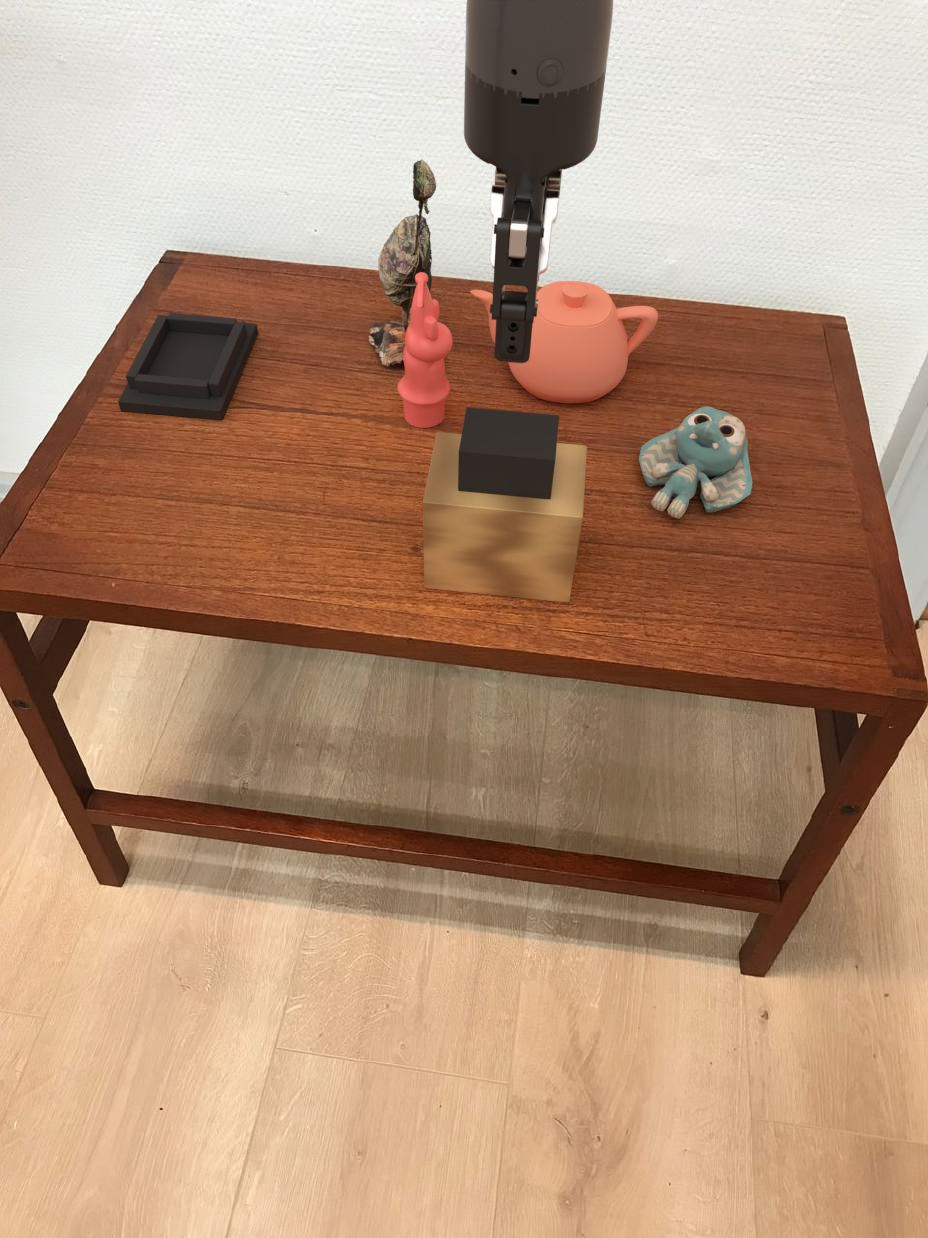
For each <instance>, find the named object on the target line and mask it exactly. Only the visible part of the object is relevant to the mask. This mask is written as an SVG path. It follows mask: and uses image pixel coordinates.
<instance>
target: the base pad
mask: <svg viewBox="0 0 928 1238" xmlns="http://www.w3.org/2000/svg"><path fill="white" fill-rule="evenodd" d="M258 335H259V329H258V324H257V323H253V322H252V323H251V322H245V321H237V318H233V317H221V316H209V315H197V314H186V313H175V312H169V313H168V314H167V315H165V314H158V315H157V316H156V318H155V320H154V322H153V323H152V325H151V327H150V329H149V331H148V333H147V335H146V337H145V339H144V340H143V343H142V345H141V346H140V348H139V349H138V352H137V354H136V356H135V358H134V360H133V361H132V363H131V365H130V367H129V369H128V371H127V373H126V375H125V379H126V381H127V383H126V385H125V387H124V389H123V391H122V393H121V395H120V397H119V399H118V401H117V403H118V406H119V409H120V411H121V412H125V413H126V412H128V413H136V414H137V413H138V414H147V415H148V414H149V415H160V416H171V417H181V418H191V419H192V418H193V419H203V420H204V419H205V420H215V421H223V420H224V418H225V416H226V413H227V410H228V407H229V405H230V402H231V401H232V398H233V395H234V393H235V390H236V389H237V386H238V383H239V381H240V378H241V376H242V374H243V371H244V369H245V366H246V364H247V361H248V360H249V357H250V354H251V352H252V350H253V348H254V345H255V343H256V339H257V337H258Z"/></svg>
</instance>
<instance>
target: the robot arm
mask: <svg viewBox="0 0 928 1238" xmlns="http://www.w3.org/2000/svg"><path fill="white" fill-rule="evenodd" d="M613 15H614V0H466V8H465V47H464V48H465V49H464V50H465V52H464V96H463V97H464V98H463V99H464V101H463V138H464V141H465V144H466V146H467V148H468V149H469V151H470V152H471V153H472V154H473V155H474V156H475V157H476V158H478V159H479V160H480V161H482V162H484V163H486V164H487V165H492V166H494V167H495V171H494V184H492V185H491V190H490V202H489V211H490V215H491V217H492V230H491V241H490V250H489V251H490V253H489V262H490V265H491V267H492V268H493V281H492V282H493V284H492V285H493V286H492V294H493V301H492V304H490V313H492V320H496V334H495V344H494V358H495V359H496V360H497V361H499V362H503V363H504V362H505V363H508V362H514V363H525V362H527V361H528V360H529V357H530V348H531V336H532V325H533V321H534V317H537V308H538V301H539V299H536V297H537V292H538V285H539V281H540V276H541V275H542V274H544V273H545V272H546V271H547V270H548V267H549V262H550V261H549V259H550V251H551V241H552V231H553V225H554V223H556V221H557V219H558V213H559V203H560V194H561V186H562V185H561V184H562V175H563V170H567V169H570V168H573V167H575V166H577V165H579V164H580V163H583V162H584V161H585V160H586V159H587V158H589V157H590V156H591V155H592V153H593V152H594V150H595V148H596V146H597V143H598V137H599V130H600V121H601V115H602V114H601V112H602V106H603V98H604V89H605V81H606V74H607V66H608V56H609V49H610V41H611V34H612V25H613ZM506 286H518V287H525V288H526V290H527V291H518V290H517V291H516V290H506V289H505V287H506Z"/></svg>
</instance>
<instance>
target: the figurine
mask: <svg viewBox="0 0 928 1238" xmlns="http://www.w3.org/2000/svg"><path fill="white" fill-rule="evenodd" d="M415 281H416V283H417V286H416V289H415V293H414V297H413V301H412V306H411V321H410V324H409V326H408V328H407V331H406V335H405V347H404V352H403V359H404V360H403V359H402V360H403V364H404V375H403V376H402V378H401V379H400V380H399V381H398V383H397V392H398V394H399V396H400V397H401V398H402V405H403V406H402V407H403V419H404V421H405V422H406V423H407V424H408V425H411V426H412V427H415V428H420V429H430V428H433V427H436V426H438V425H440V424H441V423H442V422H443V420H444V419H445V415H446V414H445V413H446V412H445V411H446V409H445V406H446V405H445V403H446V402H445V401H446V399H447V397H448V396H449V394H450V391H451V385H450V382H449V380H448V378H447V377H446V362H445V357H447V356H449V354H450V352H451V350H452V347H453V343H454V342H453V341H454V340H453V335H452V332H451V330H450V329H449V328H448V326H447V325H445V324H444V323H442V322H439V321H438V319H439V317H440V311H441V310H440V303H439V301H438V300H437V299H435V298H432V295H431V291H430V292H429V289H428V286H427V284H426V283H427V282H428V275H427V274H426V273H423V272H420V273H417V274H416V276H415Z"/></svg>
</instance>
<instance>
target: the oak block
mask: <svg viewBox="0 0 928 1238" xmlns="http://www.w3.org/2000/svg"><path fill="white" fill-rule="evenodd" d="M461 435H462V433H452V432H442V431H437V432H435V438H434V443H433V447H432V452H431V457H430V463H429V468H428V472H427V478H426V483H425V488H424V493H423V497H422V503H421V504H422V505H421V506H422V536H423V537H422V545H423V547H422V548H423V586H424V587H423V588H424V589H428V590H439V591H448V592H458V593H459V592H460V593H469V594H478V595H489V596H490V595H491V596H500V597H508V598H509V597H510V598H518V599H529V600H536V601H537V600H538V601H547V602H558V603H570V600H571V595H572V589H573V582H574V577H575V570H576V563H577V557H578V551H579V544H580V540H581V539H580V538H581V534H582V533H581V532H582V526H583V520H584V506H585V490H586V474H587V473H586V471H587V456H588V455H587V454H588V445H584V444H574V443H563V442H557V447H556V459H555V467H554V476H553V484H552V492H551V499H539V498H528V497H518V496H507V495H497V494H486V493H476V492H465V491H458V462H459V447H460V441H461Z"/></svg>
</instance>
